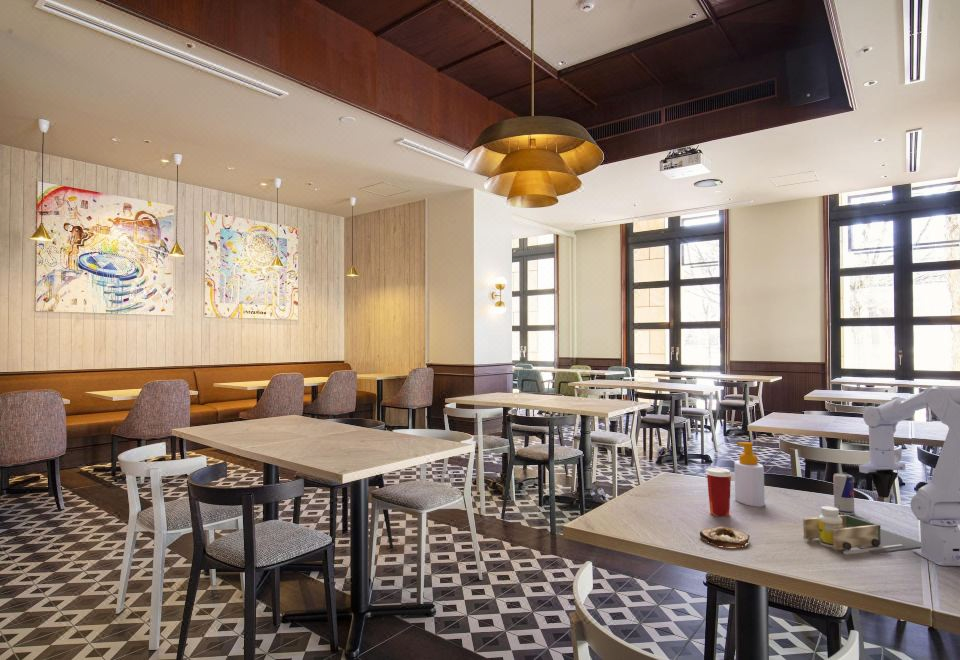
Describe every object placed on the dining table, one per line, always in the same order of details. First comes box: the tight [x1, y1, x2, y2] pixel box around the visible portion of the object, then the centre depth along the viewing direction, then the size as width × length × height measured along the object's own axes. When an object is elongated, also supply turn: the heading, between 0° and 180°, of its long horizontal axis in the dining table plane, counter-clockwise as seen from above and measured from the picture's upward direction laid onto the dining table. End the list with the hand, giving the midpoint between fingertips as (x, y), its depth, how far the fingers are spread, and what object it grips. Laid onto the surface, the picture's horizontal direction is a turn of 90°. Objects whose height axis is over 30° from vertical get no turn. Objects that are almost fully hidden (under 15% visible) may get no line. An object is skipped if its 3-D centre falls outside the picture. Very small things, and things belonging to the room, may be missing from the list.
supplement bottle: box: [818, 505, 843, 549], centre depth 146 cm, size 5×5×10 cm
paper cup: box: [705, 467, 732, 517], centre depth 174 cm, size 8×8×14 cm
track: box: [803, 528, 921, 556], centre depth 148 cm, size 26×16×1 cm, turn 105°
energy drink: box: [832, 472, 855, 516], centre depth 174 cm, size 5×5×12 cm
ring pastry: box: [699, 526, 751, 548], centre depth 149 cm, size 15×15×4 cm
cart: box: [802, 514, 881, 551], centre depth 146 cm, size 15×12×5 cm
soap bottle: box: [733, 441, 766, 508], centre depth 187 cm, size 13×8×20 cm, turn 178°
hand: (883, 496), depth 154 cm, fingers closed
